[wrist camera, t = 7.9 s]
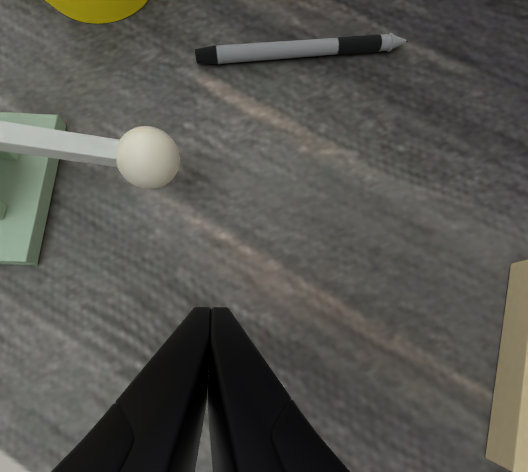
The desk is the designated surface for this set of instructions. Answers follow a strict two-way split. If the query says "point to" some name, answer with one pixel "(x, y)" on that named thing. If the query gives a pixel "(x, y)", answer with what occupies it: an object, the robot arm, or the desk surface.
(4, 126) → the lever
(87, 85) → the desk surface
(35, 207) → the bracket
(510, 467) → the button box
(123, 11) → the crank
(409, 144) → the desk surface
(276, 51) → the pen
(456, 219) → the desk surface
